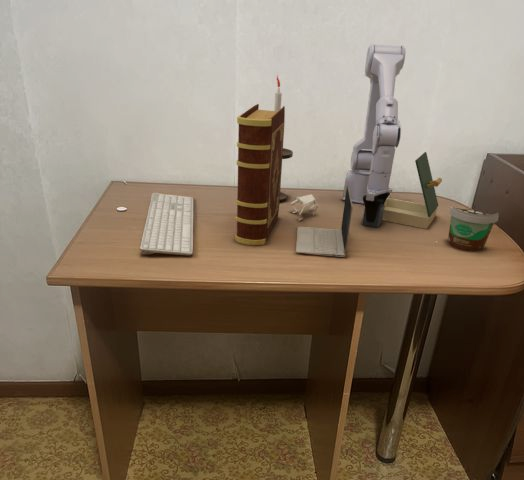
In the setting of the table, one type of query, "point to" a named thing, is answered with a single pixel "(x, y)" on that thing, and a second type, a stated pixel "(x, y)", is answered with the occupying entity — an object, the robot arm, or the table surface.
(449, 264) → the table surface
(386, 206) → the tan tray
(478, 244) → the food container
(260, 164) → the decorative book
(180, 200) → the keyboard
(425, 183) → the box lid
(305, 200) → the origami figure
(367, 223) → the block
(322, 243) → the laptop
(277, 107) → the candlestick
